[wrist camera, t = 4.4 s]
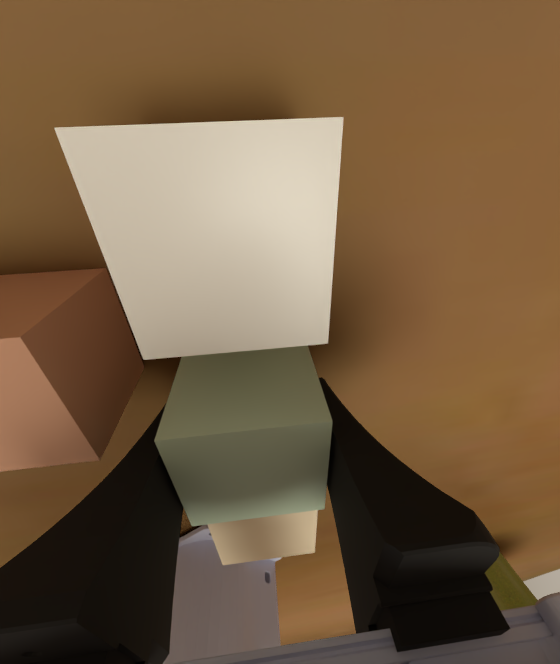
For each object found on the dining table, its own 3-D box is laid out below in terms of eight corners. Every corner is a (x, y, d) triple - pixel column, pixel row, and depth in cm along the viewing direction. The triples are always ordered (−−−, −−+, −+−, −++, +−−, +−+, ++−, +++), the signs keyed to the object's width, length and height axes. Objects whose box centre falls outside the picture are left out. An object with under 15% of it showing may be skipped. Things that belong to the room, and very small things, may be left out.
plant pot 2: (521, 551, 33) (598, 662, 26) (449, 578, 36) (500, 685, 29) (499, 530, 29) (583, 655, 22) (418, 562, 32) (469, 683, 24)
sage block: (302, 330, 12) (332, 421, 8) (302, 409, 15) (324, 509, 11) (187, 340, 12) (154, 441, 8) (207, 419, 15) (191, 526, 10)
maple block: (300, 418, 17) (318, 506, 13) (299, 466, 19) (314, 552, 15) (216, 427, 16) (205, 520, 12) (228, 475, 19) (222, 565, 15)
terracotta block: (107, 267, 11) (19, 337, 7) (145, 366, 14) (100, 460, 9) (-30, 276, 11) (-212, 356, 6) (37, 375, 13) (-60, 478, 9)
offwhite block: (299, 134, 9) (343, 117, 5) (299, 277, 12) (328, 343, 8) (145, 140, 9) (53, 127, 5) (181, 285, 12) (143, 359, 7)
